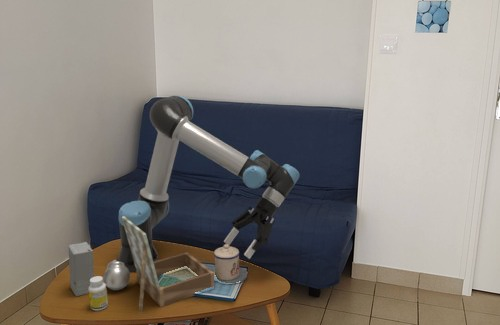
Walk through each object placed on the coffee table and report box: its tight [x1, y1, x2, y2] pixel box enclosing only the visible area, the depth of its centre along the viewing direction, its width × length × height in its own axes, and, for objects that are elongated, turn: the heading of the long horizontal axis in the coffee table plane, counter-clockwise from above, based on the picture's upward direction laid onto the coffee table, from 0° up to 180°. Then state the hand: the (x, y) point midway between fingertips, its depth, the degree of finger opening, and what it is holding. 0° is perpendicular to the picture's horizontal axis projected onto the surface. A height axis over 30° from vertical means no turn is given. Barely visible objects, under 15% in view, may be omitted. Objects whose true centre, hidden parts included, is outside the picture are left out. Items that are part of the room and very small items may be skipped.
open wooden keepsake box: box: [122, 216, 215, 312], centre depth 157 cm, size 20×27×26 cm
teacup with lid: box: [213, 243, 240, 280], centre depth 166 cm, size 12×9×12 cm
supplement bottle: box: [88, 275, 109, 311], centre depth 148 cm, size 5×5×10 cm
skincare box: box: [67, 241, 95, 297], centre depth 158 cm, size 8×7×16 cm
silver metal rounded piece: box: [103, 259, 131, 291], centre depth 159 cm, size 9×10×10 cm
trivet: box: [217, 266, 248, 283], centre depth 167 cm, size 12×12×1 cm
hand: (236, 250), depth 166 cm, fingers open, 13 cm apart
